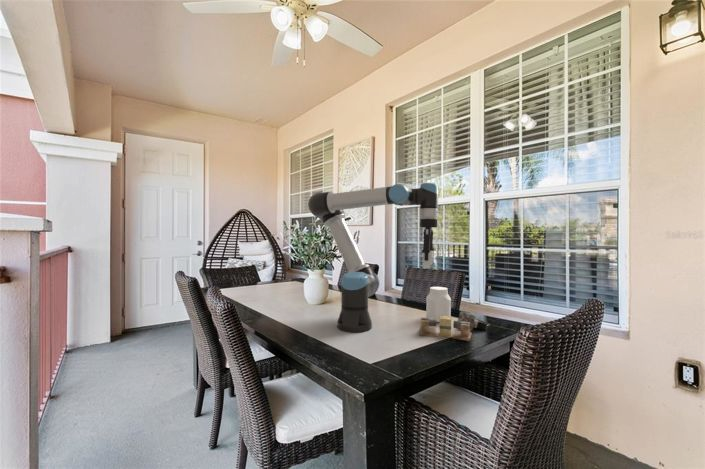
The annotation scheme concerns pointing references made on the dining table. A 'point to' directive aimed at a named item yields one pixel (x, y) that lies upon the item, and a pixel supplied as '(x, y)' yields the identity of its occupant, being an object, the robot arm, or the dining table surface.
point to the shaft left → (425, 327)
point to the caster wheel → (472, 321)
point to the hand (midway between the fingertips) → (427, 266)
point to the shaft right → (462, 330)
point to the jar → (438, 303)
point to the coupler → (445, 326)
